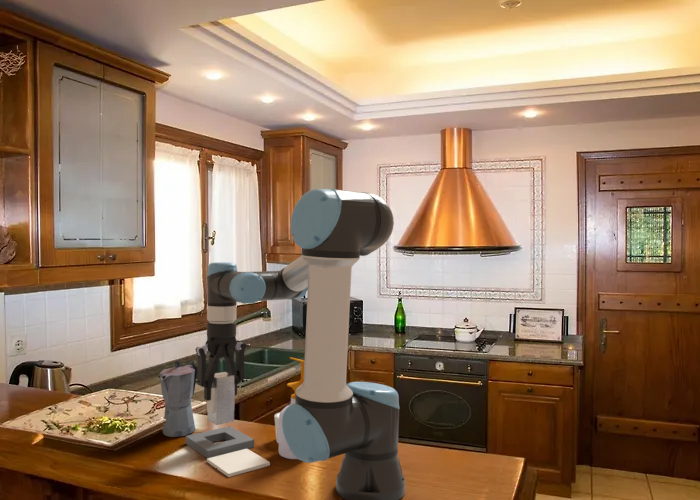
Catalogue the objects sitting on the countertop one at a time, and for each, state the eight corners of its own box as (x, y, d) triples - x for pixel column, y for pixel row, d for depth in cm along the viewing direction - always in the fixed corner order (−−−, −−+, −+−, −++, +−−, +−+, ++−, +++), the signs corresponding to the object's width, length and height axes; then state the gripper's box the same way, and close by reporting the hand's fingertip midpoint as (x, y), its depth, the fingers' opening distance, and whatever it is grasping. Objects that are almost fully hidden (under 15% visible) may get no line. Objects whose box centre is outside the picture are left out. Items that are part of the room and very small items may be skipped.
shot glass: (301, 436, 155) (301, 411, 155) (296, 445, 149) (297, 419, 148) (277, 435, 156) (277, 410, 156) (271, 444, 149) (271, 418, 149)
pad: (269, 465, 135) (269, 462, 135) (228, 477, 128) (228, 473, 128) (246, 451, 144) (246, 448, 144) (206, 461, 137) (206, 458, 137)
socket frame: (254, 447, 147) (254, 439, 147) (207, 459, 139) (208, 450, 138) (230, 433, 157) (230, 426, 157) (185, 443, 148) (185, 436, 148)
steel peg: (233, 421, 147) (234, 375, 147) (216, 425, 144) (216, 378, 144) (224, 416, 151) (225, 371, 151) (207, 420, 148) (207, 374, 147)
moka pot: (147, 438, 152) (148, 364, 151) (180, 420, 166) (181, 353, 166) (177, 442, 149) (179, 367, 149) (208, 424, 164) (209, 356, 163)
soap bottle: (271, 452, 144) (273, 356, 143) (300, 444, 150) (302, 352, 149) (292, 463, 137) (294, 363, 137) (321, 454, 143) (323, 358, 143)
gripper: (245, 317, 156) (244, 401, 156) (182, 322, 144) (181, 413, 144) (259, 320, 150) (258, 407, 150) (195, 326, 138) (194, 420, 139)
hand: (220, 409), depth 147 cm, fingers closed on steel peg, 5 cm apart
